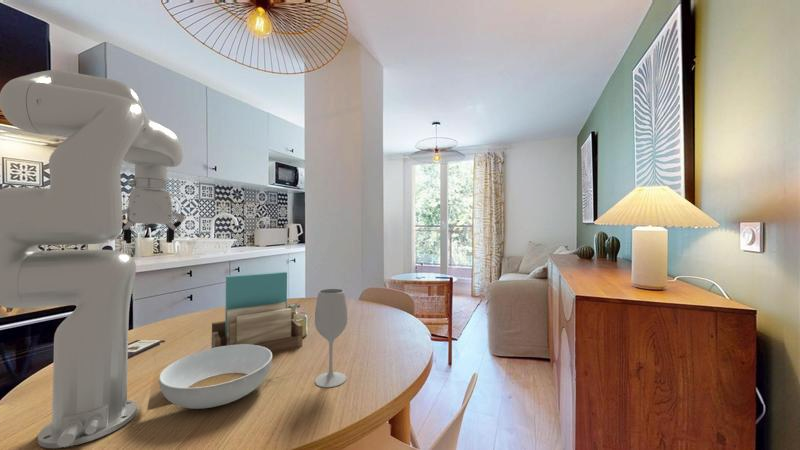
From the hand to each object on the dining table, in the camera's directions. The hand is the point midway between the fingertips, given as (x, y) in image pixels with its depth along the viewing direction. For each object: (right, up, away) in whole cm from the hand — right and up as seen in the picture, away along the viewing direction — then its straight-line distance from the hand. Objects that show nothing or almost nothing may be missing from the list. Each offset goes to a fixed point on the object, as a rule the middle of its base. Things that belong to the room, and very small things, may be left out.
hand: (149, 243), depth 92 cm
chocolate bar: (-3, -32, -5) cm, 32 cm away
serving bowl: (+36, -31, -26) cm, 54 cm away
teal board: (+34, -30, -3) cm, 45 cm away
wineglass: (+59, -32, -19) cm, 69 cm away
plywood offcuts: (+36, -30, -7) cm, 47 cm away
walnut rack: (+35, -31, -5) cm, 47 cm away
